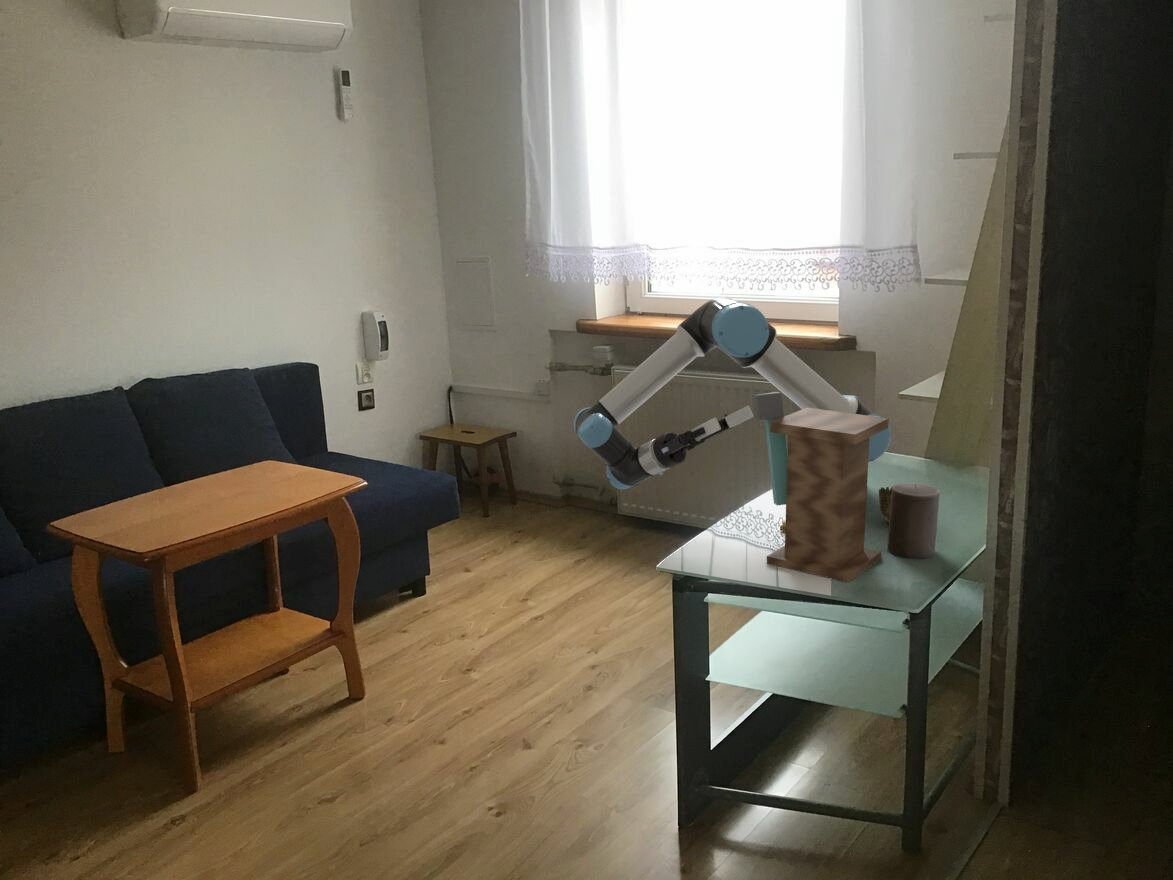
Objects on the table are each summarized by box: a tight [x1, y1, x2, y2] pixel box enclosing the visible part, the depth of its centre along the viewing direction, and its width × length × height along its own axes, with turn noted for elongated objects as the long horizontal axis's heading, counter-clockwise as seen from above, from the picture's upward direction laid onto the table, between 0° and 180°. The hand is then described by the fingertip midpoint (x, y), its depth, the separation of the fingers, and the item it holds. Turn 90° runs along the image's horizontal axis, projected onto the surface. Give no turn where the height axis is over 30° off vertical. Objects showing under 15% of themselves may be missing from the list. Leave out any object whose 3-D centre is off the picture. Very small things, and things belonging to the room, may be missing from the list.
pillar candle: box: [887, 482, 941, 559], centre depth 221 cm, size 10×10×15 cm
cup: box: [878, 486, 893, 526], centre depth 238 cm, size 8×7×8 cm
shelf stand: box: [766, 408, 890, 583], centre depth 214 cm, size 18×16×30 cm
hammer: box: [751, 391, 788, 506], centre depth 216 cm, size 23×5×5 cm
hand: (734, 417), depth 223 cm, fingers open, 13 cm apart
